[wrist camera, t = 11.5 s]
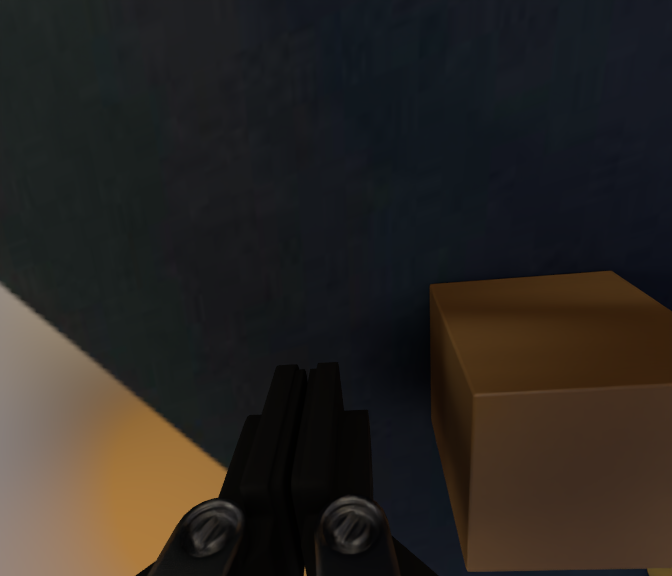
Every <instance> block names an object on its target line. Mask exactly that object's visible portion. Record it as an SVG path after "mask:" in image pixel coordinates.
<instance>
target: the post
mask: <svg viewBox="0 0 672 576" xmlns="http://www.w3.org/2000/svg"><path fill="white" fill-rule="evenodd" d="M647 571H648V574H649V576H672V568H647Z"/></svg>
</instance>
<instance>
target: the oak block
mask: <svg viewBox="0 0 672 576" xmlns="http://www.w3.org/2000/svg"><path fill="white" fill-rule="evenodd" d="M430 355H431V420H432V424H433V429H434V433H435V437H436V442H437V446H438V450H439V454H440V459H441V463H442V467H443V472H444V476H445V480H446V484H447V489H448V493H449V497H450V502H451V506H452V510H453V514H454V519H455V523H456V527H457V532H458V536H459V540H460V544H461V549H462V553H463V557H464V562H465V566H466V569H467V571H469V572H482V571H537V570H592V569H647V568H672V311H671V310H669V309H668V308H666V307H665V306H663V305H662V304H660V303H659V302H657V301H656V300H654V299H653V298H651V297H650V296H648V295H647V294H645V293H644V292H642V291H641V290H639V289H638V288H636V287H635V286H633V285H632V284H630V283H629V282H627V281H626V280H624V279H623V278H621V277H620V276H618V275H617V274H615V273H614V272H612V271H601V272H587V273H574V274H561V275H547V276H534V277H521V278H507V279H494V280H480V281H467V282H454V283H440V284H431V285H430Z"/></svg>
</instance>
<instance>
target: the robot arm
mask: <svg viewBox="0 0 672 576" xmlns="http://www.w3.org/2000/svg"><path fill="white" fill-rule="evenodd" d="M304 568H305V569H306V574H307V576H438V575H437V574H436V573H435V572H434V571H432V570H431V569H430V568H429V567H428V566H427V565H425V564H424V563H423V562H422V561H421V560H420V559H418V558H417V557H416V556H415V555H414V554H413V553H411V552H410V551H409V550H408V549H407V548H406V547H404V546H403V545H402V544H401V543H400V542H399V541H397V540H396V539H395V538H394V537H393V536H392V535H391V532H390V528H389V524H388V519H387V517H386V515H385V512H384V510H383V509H382V508H381V507H380V505H379V504H378V503H377V502H376V501H374V500H373V477H372V454H371V438H370V426H369V415H368V410H353V411H344V407H343V399H342V390H341V381H340V373H339V365H338V362H332V363H318V365H317V369H310V373H309V379H308V382H307V375H306V371H305V369H302V370H299V367H298V365H297V364H296V365H279V366H277V367H276V370H275V373H274V376H273V379H272V382H271V386H270V389H269V392H268V395H267V399H266V402H265V405H264V408H263V412H262V415H249V416H248V417H247V419H246V421H245V424H244V426H243V429H242V432H241V435H240V438H239V440H238V443H237V446H236V449H235V452H234V455H233V457H232V460H231V463H230V466H229V469H228V472H227V474H226V477H225V480H224V483H223V486H222V489H221V492H220V494H219V497H218V498H214V499H211V500H207V501H204V502H202V503H200V504H198V505H196V506H195V507H193V508H192V509H191V510H190V511H189V512H187V513H186V514H185V515H184V516H183V518H182V519H181V520H180V522H179V523H178V524H177V526H176V527H175V529H174V531H173V533H172V534H171V536H170V538H169V540H168V541H167V543H166V545H165V546H164V548H163V550H162V551H161V553H160V555H159V557H158V558H157V560H156V561H155V562H154V563H152V564H151V565H150V566H148V567H147V568H145V569H144V570H143V571H141V572H140V573H139V574H137V575H136V576H304Z"/></svg>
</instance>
